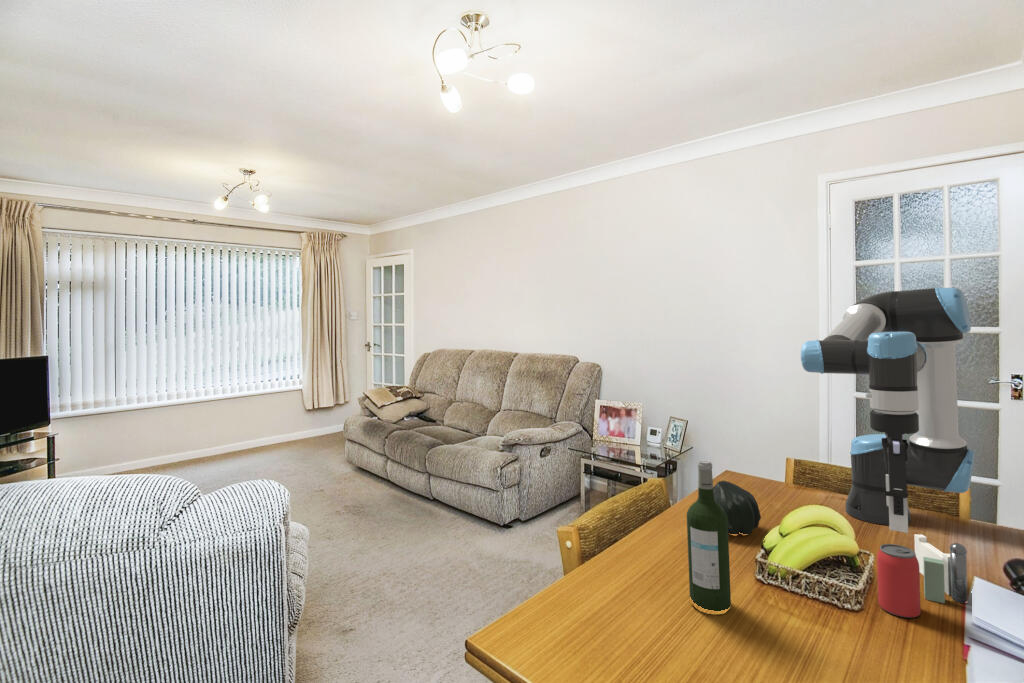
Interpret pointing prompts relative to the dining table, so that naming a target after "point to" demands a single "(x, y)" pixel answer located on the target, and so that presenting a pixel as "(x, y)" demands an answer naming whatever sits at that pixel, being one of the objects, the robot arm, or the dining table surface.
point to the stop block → (934, 579)
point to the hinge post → (958, 572)
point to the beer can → (898, 581)
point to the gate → (931, 552)
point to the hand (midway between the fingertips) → (896, 518)
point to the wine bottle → (708, 546)
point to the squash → (737, 507)
